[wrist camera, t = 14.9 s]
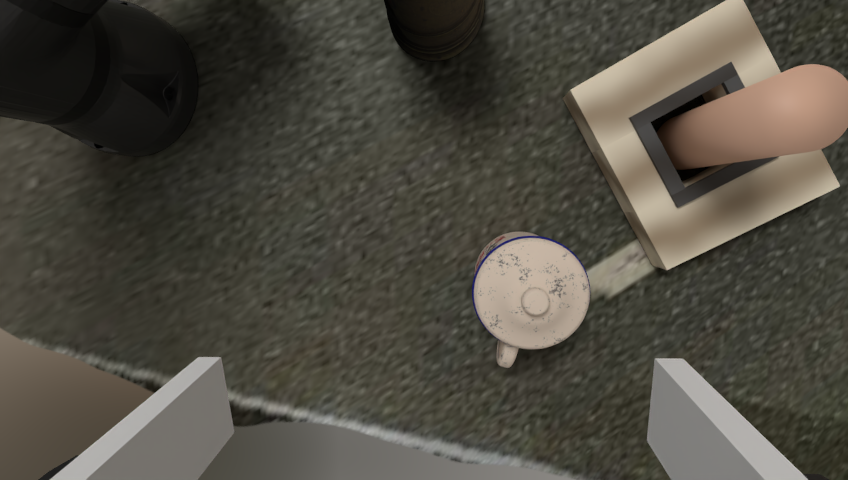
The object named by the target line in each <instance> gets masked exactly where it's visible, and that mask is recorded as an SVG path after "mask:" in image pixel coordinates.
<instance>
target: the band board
mask: <svg viewBox="0 0 848 480" xmlns="http://www.w3.org/2000/svg"><path fill="white" fill-rule="evenodd" d="M780 73H781V72H780V70H779V68H778V66H777V64H776V62H775V60H774V58H773V56H772V55H771V53H770V51H769V49H768V47H767V45H766V43H765V41H764V39H763V37H762V35H761V33H760V32H759V30H758V28H757V26H756V24H755V22H754V20H753V18H752V16H751V14H750V12H749V10H748V8H747V7H746V5H745V3H744V1H743V0H726V1H724V2H722V3H721V4H719V5H717V6H716V7H714V8H712V9H710V10H709V11H707V12H705V13H703V14H702V15H700V16H698V17H696V18H695V19H693V20H691V21H689V22H688V23H686V24H684V25H682V26H681V27H679V28H677V29H676V30H674V31H672V32H670V33H669V34H667V35H665V36H663V37H662V38H660V39H658V40H656V41H655V42H653V43H651V44H649V45H648V46H646V47H644V48H642V49H641V50H639V51H637V52H635V53H634V54H632V55H630V56H629V57H627V58H625V59H623V60H622V61H620V62H618V63H616V64H615V65H613V66H611V67H609V68H608V69H606V70H604V71H602V72H601V73H599V74H597V75H595V76H594V77H592V78H590V79H589V80H587V81H585V82H583V83H582V84H580V85H578V86H576V87H575V88H573V89H571V90H570V91H569V92H568V93H567V94H566V95H565V97H564V98H563V100H564V102H565V104H566V106H567V108H568V109H569V111H570V113H571V115H572V117H573V119H574V121H575V122H576V124H577V126H578V128H579V130H580V132H581V134H582V136H583V137H584V139H585V141H586V143H587V145H588V147H589V149H590V150H591V152H592V154H593V156H594V158H595V160H596V162H597V163H598V165H599V167H600V169H601V171H602V173H603V175H604V176H605V178H606V180H607V182H608V184H609V186H610V188H611V190H612V191H613V193H614V195H615V197H616V199H617V201H618V203H619V204H620V206H621V208H622V210H623V212H624V214H625V216H626V217H627V219H628V221H629V223H630V225H631V227H632V229H633V230H634V232H635V234H636V236H637V238H638V240H639V242H640V244H641V245H642V247H643V249H644V251H645V253H646V255H647V257H648V258H649V260H650V262H651V264H652V265H653V266H656V267H659V268H662V269H665V270H669V269H671V268H673V267H675V266H677V265H679V264H681V263H683V262H685V261H687V260H689V259H691V258H693V257H695V256H697V255H700V254H702V253H704V252H706V251H708V250H710V249H712V248H714V247H716V246H718V245H720V244H722V243H724V242H726V241H728V240H730V239H733V238H735V237H737V236H739V235H741V234H743V233H745V232H747V231H749V230H751V229H753V228H755V227H757V226H759V225H761V224H763V223H766V222H768V221H770V220H772V219H774V218H776V217H778V216H780V215H782V214H784V213H786V212H788V211H790V210H792V209H794V208H796V207H799V206H801V205H803V204H805V203H807V202H809V201H811V200H813V199H815V198H817V197H819V196H821V195H823V194H825V193H827V192H829V191H832V190H834V189H836V188H838V187H840V185H839V183H838V181H837V179H836V177H835V175H834V173H833V171H832V170H831V168H830V166H829V164H828V162H827V160H826V158H825V156H824V154H823V152H822V150H821V149H820V150H816V151H812V152H806V153H799V154H792V155H785V156H778V157H771V158H764V159H757V160H750V161H743V162H735V163H728V164H721V165H714V166H711V167H710V168H708V169H706V170H704V171H702V172H700V173H698V174H696V175H694V176H692V177H690V178H688V179H686V180H684V181H681V179H680V177H679V175H678V173H677V171H676V169H675V168H674V166H673V164H672V162H671V160H670V158H669V156H668V154H667V153H666V151H665V149H664V147H663V145H662V143H661V141H660V139H659V138H658V136H657V134H656V132H655V130H654V128H653V126H652V124H651V122H652V121H654V120H655V119H657V118H659V117H661V116H663V115H665V114H666V113H668V112H670V111H672V110H674V109H676V108H677V107H679V106H681V105H683V104H685V103H687V102H688V101H690V100H692V99H694V98H696V97H698V96H699V95H701V94H702V96H703V98H704V100H705V102H706V104H707V103H709V102H711V101H714V100H716V99H719V98H721V97H724V96H726V95H728V94H731V93H733V92H736V91H738V90H741V89H743V88H746V87H748V86H750V85H753V84H755V83H758V82H760V81H763V80H765V79H767V78H770V77H772V76H775V75H777V74H780Z"/></svg>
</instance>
